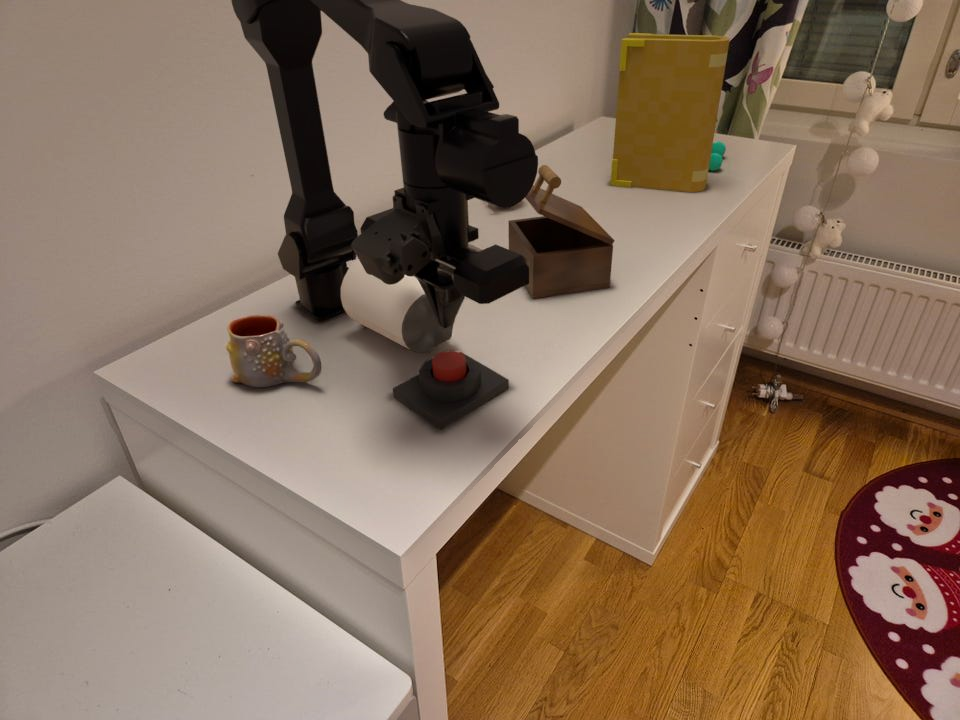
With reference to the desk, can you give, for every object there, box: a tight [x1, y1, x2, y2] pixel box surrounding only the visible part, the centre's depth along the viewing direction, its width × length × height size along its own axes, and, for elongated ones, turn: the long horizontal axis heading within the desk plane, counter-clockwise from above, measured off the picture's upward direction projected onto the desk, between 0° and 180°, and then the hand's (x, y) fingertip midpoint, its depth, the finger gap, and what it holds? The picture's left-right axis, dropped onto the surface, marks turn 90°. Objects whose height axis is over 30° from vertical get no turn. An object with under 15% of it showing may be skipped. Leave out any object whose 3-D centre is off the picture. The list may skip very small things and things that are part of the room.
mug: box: [225, 314, 323, 388], centre depth 74 cm, size 12×7×7 cm, turn 62°
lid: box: [524, 164, 615, 245], centre depth 89 cm, size 12×13×4 cm
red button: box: [432, 350, 466, 382], centre depth 71 cm, size 4×4×2 cm
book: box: [609, 32, 731, 193], centre depth 117 cm, size 17×7×25 cm, turn 68°
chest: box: [508, 215, 614, 299], centre depth 93 cm, size 11×13×6 cm
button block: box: [392, 351, 510, 431], centre depth 72 cm, size 10×8×3 cm
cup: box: [341, 258, 456, 354], centre depth 79 cm, size 10×10×13 cm
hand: (445, 325), depth 68 cm, fingers closed
